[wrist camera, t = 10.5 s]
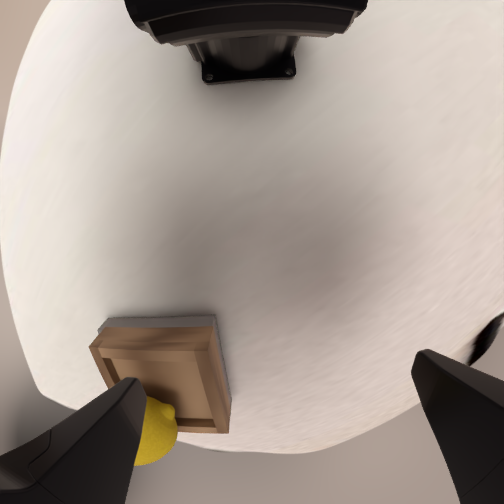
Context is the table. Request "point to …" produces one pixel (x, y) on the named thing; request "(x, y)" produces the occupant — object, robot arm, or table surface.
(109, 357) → the wooden tray
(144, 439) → the lemon
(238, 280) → the table surface
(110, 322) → the bottom block
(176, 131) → the table surface
